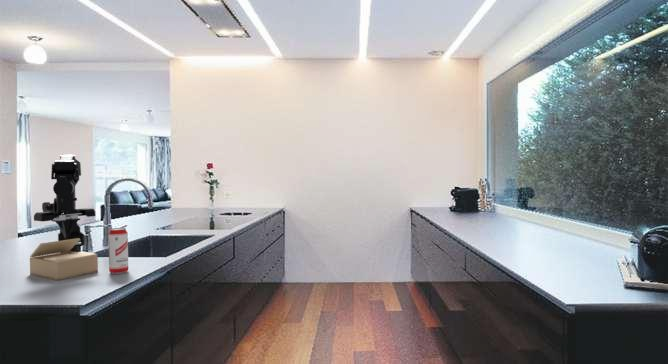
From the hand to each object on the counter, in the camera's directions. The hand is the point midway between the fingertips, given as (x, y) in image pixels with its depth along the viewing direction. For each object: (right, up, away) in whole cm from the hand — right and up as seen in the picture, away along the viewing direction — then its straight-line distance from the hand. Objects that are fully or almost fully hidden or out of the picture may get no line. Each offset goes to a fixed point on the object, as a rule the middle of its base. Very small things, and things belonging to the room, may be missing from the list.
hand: (66, 238), depth 156 cm
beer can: (+18, -13, +2) cm, 22 cm away
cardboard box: (-2, -13, +1) cm, 13 cm away
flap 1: (-6, -4, +4) cm, 8 cm away
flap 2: (+2, -7, -1) cm, 7 cm away
